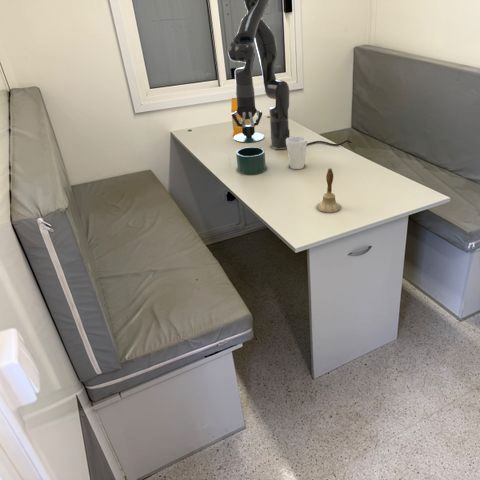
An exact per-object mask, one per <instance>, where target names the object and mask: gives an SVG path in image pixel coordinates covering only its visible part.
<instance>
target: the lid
mask: <svg viewBox="0 0 480 480" xmlns="http://www.w3.org/2000/svg"><path fill="white" fill-rule="evenodd" d="M245 129H246V136H244V135H243V133H240V134H237V135H235V136H234V135H233V141H234V142H236V143H240V144H254V143H260V142H262V141H263V140H265V134H264V133H260V132H256V131H255V134H253V135H252V132H251V125H245Z"/></svg>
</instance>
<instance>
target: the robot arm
mask: <svg viewBox="0 0 480 480" xmlns="http://www.w3.org/2000/svg"><path fill="white" fill-rule="evenodd" d="M243 1H244V5H245V8H246V11H247V13H246V14H245V15H244V16H243V18H242V19H241V21H240V24H239V27H238V30H237V34H235V36H234V37H233V39H232V41H231V42H230V43H229V45H228V49H227V55H228V59H230V61H232V62H235V63H244V66H243V67H238V68H236V69H235V70H234V79H235V96H236V97H235V98H237V111H236V112H234V113H231V118H232V117H233V119H234V120H235V122H236V124H237V125H238V126H240V127H242V132H243V135H244V136H246V129H245V120H246V119H250V122H251V132H252V135H253V134H255V132H256V129H255V128H256V126H259V124H260V121H261V119H262V116H263V111H262V110H258V109H257V108H256V99H255V98H256V97H255V87H254V80H253V68H254V61H255V58H256V51H257V55H258V59H259V63H260V68H261V74H262V83H263V89H264V93H265V95H266V97H267V98H269V99H270V100H275V105H273V106H270V107H269V125H270V142H271V143H270V144H271V145H270V146H271V148H273V149H274V150H287V145H286V139H287V138H289V137H291V135H290V128H289V108H290V87H289V86H290V85H289V84H288V82H287V81H285V80H281V79H277V78H276V73H275V64H276V60H277V56H278V46H277V41H276V36H275V34H274V32H273V31H272V29H271V28H270V27H269V25H268V24H267V23H266V22H265V21H264V20H263V16H264V15H265V12H266V11H267V8H268V6H269V4H270V3H271V0H243ZM254 43H255V47H256V49H255V47H254V46H253V44H254ZM237 114H239V116H240V117H241V118H242V123H240V122H239V120H238V119H237ZM255 115H256V118H255V121H254V117H255ZM317 143H318V144H319V143H321V144H326V145H329V146H334V147H335V146H336V147H338V146H343V145H344V144H345V143H349V144H353V142H352V141H351V140H349V139H348V140H347V139H346V140H344V141H342V142H340V143H333V142H328V141H323V140H315V141H312V142H307V145H306V146H309V145H314V144H317Z"/></svg>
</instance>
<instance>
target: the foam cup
mask: <svg viewBox="0 0 480 480" xmlns="http://www.w3.org/2000/svg"><path fill="white" fill-rule="evenodd" d="M307 144H308V139H307V137H304V136H300V135H298V136H297V135H295V136H290V137H289V138H287V139H286V145H287V148H286V150H287V155H288V160H289V167H290V168H291V169H292V170H293V169H294V170H301V169H304V167H305V161H306V152H307V146H308V145H307Z"/></svg>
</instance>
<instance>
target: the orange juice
mask: <svg viewBox="0 0 480 480" xmlns="http://www.w3.org/2000/svg"><path fill="white" fill-rule="evenodd" d="M230 106H231V110H230V111H231V114H232V113H234V112H236V111H237V97H231V105H230ZM237 119H238V120H239V122H240V123H242V118H241V117H240V116H239V114H237ZM231 120H232V121H231V122H232V129H233V131H232V132H233V137H234V136H235V135H237V134H240V133H243V132H242V127H240V126H238V125H237V124H236V122H235V120H234V119H233V117H232V116H231ZM245 125H251V122H250V119H246V120H245Z"/></svg>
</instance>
